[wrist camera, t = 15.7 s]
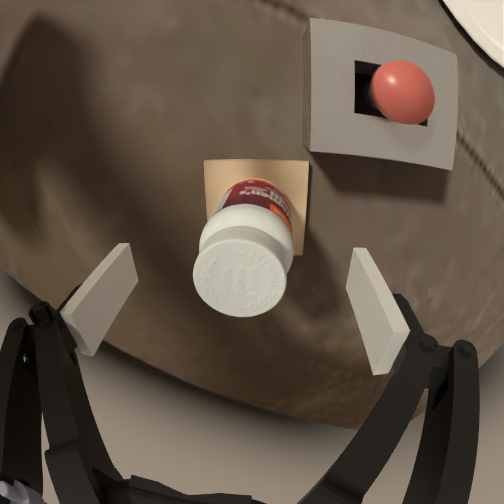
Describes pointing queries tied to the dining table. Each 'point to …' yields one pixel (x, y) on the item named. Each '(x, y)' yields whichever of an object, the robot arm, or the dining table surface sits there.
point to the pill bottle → (246, 250)
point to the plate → (482, 24)
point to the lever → (400, 92)
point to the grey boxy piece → (343, 95)
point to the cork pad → (276, 171)
